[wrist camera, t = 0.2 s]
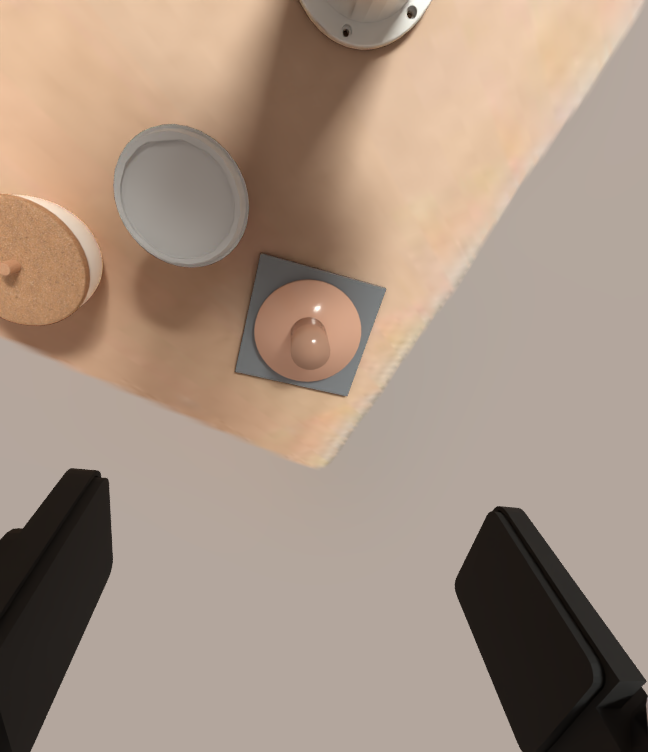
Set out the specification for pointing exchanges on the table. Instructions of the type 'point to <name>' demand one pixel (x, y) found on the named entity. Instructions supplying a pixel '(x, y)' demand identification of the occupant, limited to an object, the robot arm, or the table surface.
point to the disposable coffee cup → (181, 195)
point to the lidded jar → (44, 261)
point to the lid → (307, 330)
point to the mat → (283, 271)
